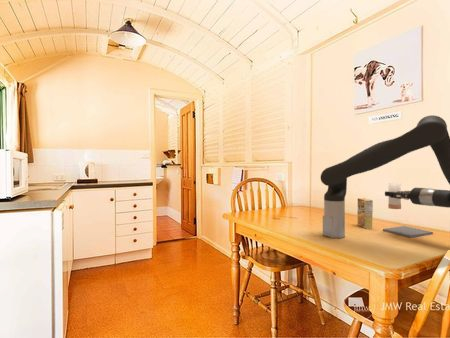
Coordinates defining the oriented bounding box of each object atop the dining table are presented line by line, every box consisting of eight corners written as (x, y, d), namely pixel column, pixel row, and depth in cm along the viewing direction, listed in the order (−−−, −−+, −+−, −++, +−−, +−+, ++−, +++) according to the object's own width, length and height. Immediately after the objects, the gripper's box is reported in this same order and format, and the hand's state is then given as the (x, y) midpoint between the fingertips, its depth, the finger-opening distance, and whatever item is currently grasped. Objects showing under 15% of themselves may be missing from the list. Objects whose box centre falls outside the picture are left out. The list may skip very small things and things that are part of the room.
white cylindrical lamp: (396, 209, 125) (395, 184, 125) (385, 207, 130) (385, 183, 130) (403, 208, 127) (403, 183, 127) (393, 207, 132) (393, 183, 132)
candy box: (356, 225, 149) (356, 198, 149) (364, 225, 149) (364, 197, 149) (365, 228, 141) (365, 200, 140) (373, 228, 141) (373, 200, 140)
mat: (410, 237, 123) (410, 235, 123) (382, 230, 136) (382, 228, 136) (432, 234, 129) (432, 232, 129) (404, 227, 142) (404, 225, 142)
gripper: (436, 187, 117) (399, 185, 133) (414, 188, 112) (378, 186, 128) (436, 204, 117) (399, 200, 133) (414, 206, 112) (378, 201, 128)
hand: (389, 193), depth 131 cm, fingers closed on white cylindrical lamp, 5 cm apart
